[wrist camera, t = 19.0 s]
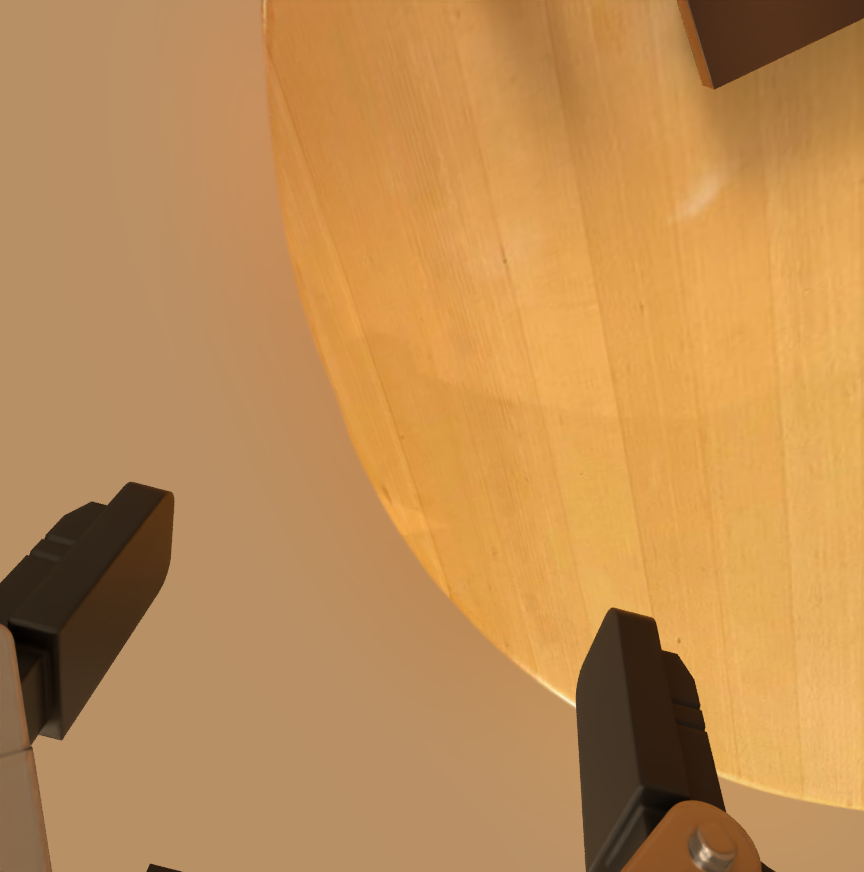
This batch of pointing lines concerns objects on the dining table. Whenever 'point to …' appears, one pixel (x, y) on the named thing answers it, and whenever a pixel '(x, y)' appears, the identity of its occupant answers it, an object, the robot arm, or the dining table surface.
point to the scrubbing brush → (757, 31)
